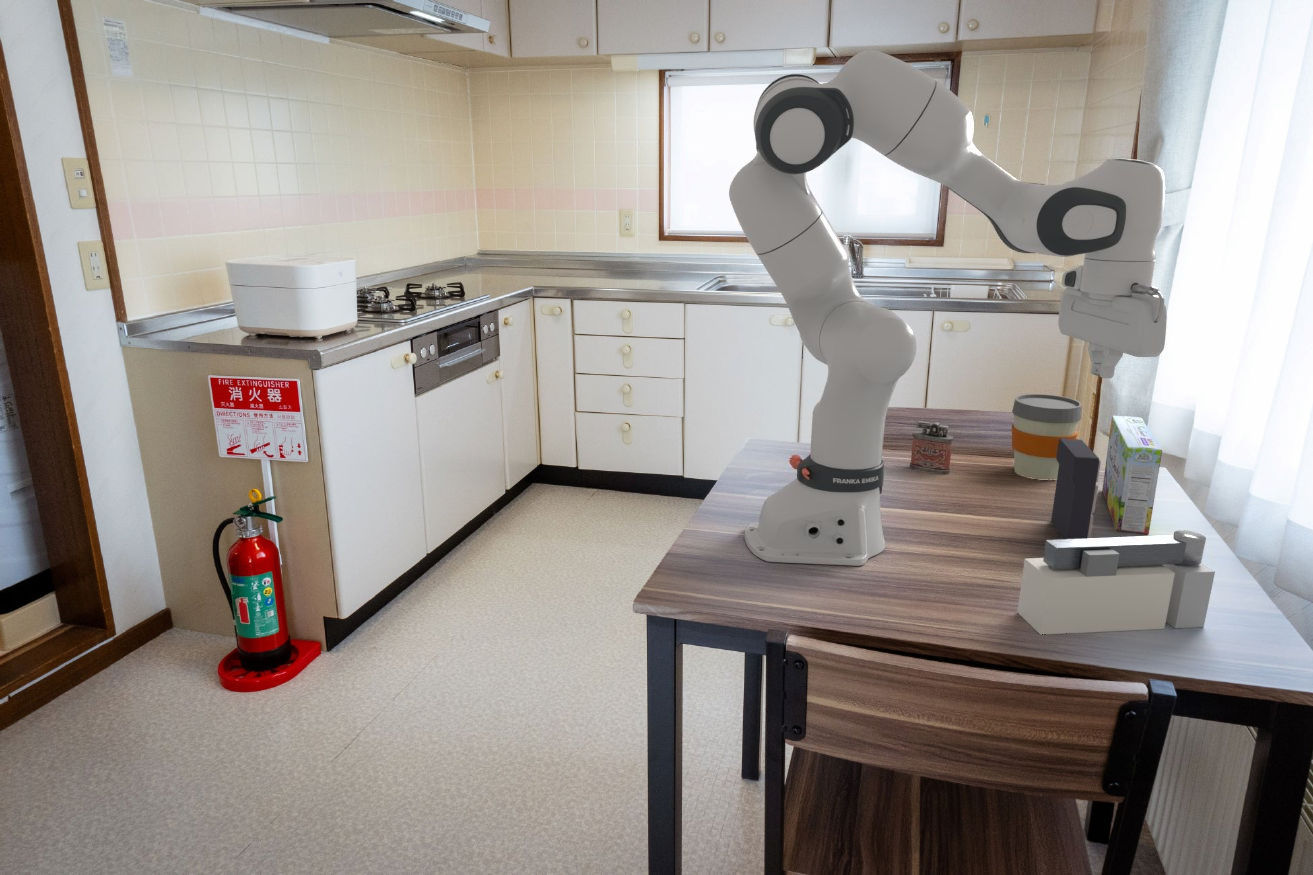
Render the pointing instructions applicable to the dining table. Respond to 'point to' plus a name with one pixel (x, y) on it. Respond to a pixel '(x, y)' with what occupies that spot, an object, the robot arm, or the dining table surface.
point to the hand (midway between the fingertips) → (1101, 376)
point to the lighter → (931, 448)
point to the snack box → (1131, 474)
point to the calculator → (1075, 489)
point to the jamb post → (1189, 595)
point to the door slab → (1094, 595)
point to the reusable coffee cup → (1042, 432)
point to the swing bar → (1129, 550)
